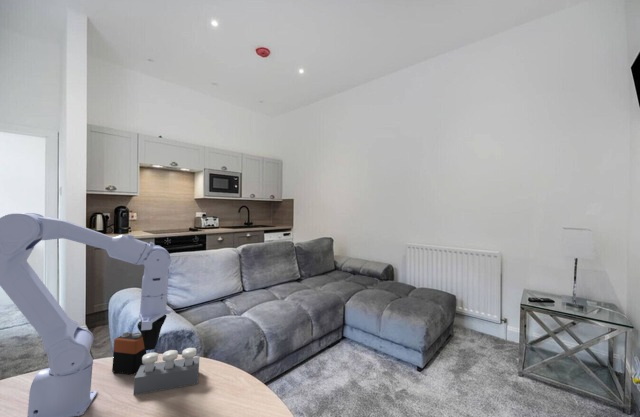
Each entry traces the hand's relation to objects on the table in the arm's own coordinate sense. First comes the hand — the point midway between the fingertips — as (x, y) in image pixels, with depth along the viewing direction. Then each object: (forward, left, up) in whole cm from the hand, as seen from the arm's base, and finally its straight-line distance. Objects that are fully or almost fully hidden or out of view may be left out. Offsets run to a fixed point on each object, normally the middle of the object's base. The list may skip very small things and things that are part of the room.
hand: (150, 347), depth 68 cm
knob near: (0, 0, -7) cm, 7 cm away
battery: (-6, +9, -10) cm, 15 cm away
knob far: (+9, 0, -7) cm, 12 cm away
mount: (+5, 0, -9) cm, 10 cm away
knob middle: (+4, 0, -7) cm, 8 cm away
